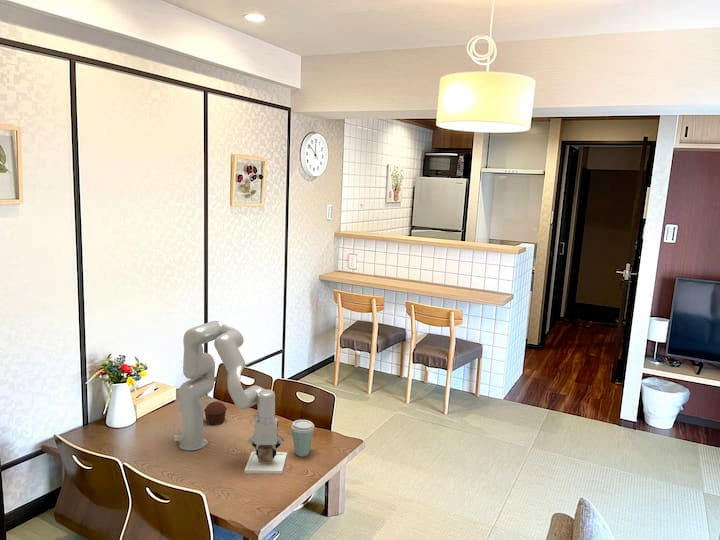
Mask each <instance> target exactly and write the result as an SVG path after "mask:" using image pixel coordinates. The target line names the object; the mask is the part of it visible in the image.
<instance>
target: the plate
mask: <svg viewBox="0 0 720 540" xmlns="http://www.w3.org/2000/svg"><path fill="white" fill-rule="evenodd" d="M287 457H288V452H286V451H285V452H283V451H276V456H275V457H274V459H273V461H272V463H267V462H258V458H257V455H256V451H251V453H250V455H249V458H248V460H247V463H246V466H245V467H244V474H259V475H261V474H263V475H264V474H266V475H269V474H272V475H273V474H274V475H282V474H283V472H284V468H285V464H286V460H287Z"/></svg>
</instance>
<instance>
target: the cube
mask: <svg viewBox="0 0 720 540" xmlns="http://www.w3.org/2000/svg"><path fill="white" fill-rule="evenodd" d="M272 461H273V447H272V445H259V449H258V462H267V463H272Z"/></svg>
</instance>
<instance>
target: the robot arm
mask: <svg viewBox="0 0 720 540" xmlns="http://www.w3.org/2000/svg"><path fill="white" fill-rule="evenodd" d="M182 339H183V362H182V364H183V365H182V369H183V370H182V372H183V375H184V377H185V378H186V379H188V380H186V381H185V382H183V383H181V385H180V386H179V389H178V396H179V400H180V407H181V428H182V429H181V430H182V434H181V435H180V434H179V435H178V434H175V435H173V440H174V442H179V444H178V445H179V446H178V447H179V448H180V449H181V450H182V451H188V452H189V451H190V452H193V451H198V450H201V449H203V448H205V447H206V446H207V445H208V440H207V438H205V436H204V406H203V404H202V403H201V400H200V398H202V397H204V396H206V395H208V394H209V393H211V391H213V389H214V386H215V375H216V361H215V359H214V357H213V356H212V355H211V353H208V352H204V346H203V344H208V343H211V342H213V341H214V342H213V343H214V344H213V345H214V348H215V350H216V352H217V354H218V356H219V358H220V360H221V362H222V364H223V365H224V368H225V369H226V372H227V376H226V377H227V378H226V379H227V384H226V385H227V391H228V393H229V395H230V398H231V399H232V401H233V403H234V405H235V406H236V407H237V408H238V409H240V410H244V411H245V410H247V409H249V408H251V407H253V406H254V405H257V406H256V407H257V408H256V409H257V414H255V415H254V416H253V418H254V420H255V419H256V421H255V423H254V431H253V435H252V436H251V437H250V438H249V439H248V443H249V444H251V446H252V447H253V448H254V449H255V452H256V455H257V458H258V449H259V446H260V445H272V447H273V459H274V457H275V456H276V452H277V449H278V448H279V447H281V445H282V444H284V441H285V440H284V439H283V437H281V436H280V435H279V426H278V427H277V421H276V420H275V417H276V394H275V392H274V390H272V389H266V388H263V387H262V386H260V385H256V384H255V385H251V386H249V387H248V388H246V389H243V386H242V384H241V383H242V382H241V376H242V372H243V370H244V368H245V366H246V361H245V359H244V356H243V355H242V354H241V353H242V352H241V351H240V349H239V348H240V347H241V346H243V344H244V341H245V339H244V336H243V334H242V333H241V331H239V330H237V329H236V328H234V327H233V326H230V325H228V324H226V323H224V322H222V321H219V320H212V321H209V322H205V323H202V324H199V325H197V326H194V327H191V328H188V330H186V331H185V333H184V335H183V338H182ZM277 440H278V441H277Z"/></svg>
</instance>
